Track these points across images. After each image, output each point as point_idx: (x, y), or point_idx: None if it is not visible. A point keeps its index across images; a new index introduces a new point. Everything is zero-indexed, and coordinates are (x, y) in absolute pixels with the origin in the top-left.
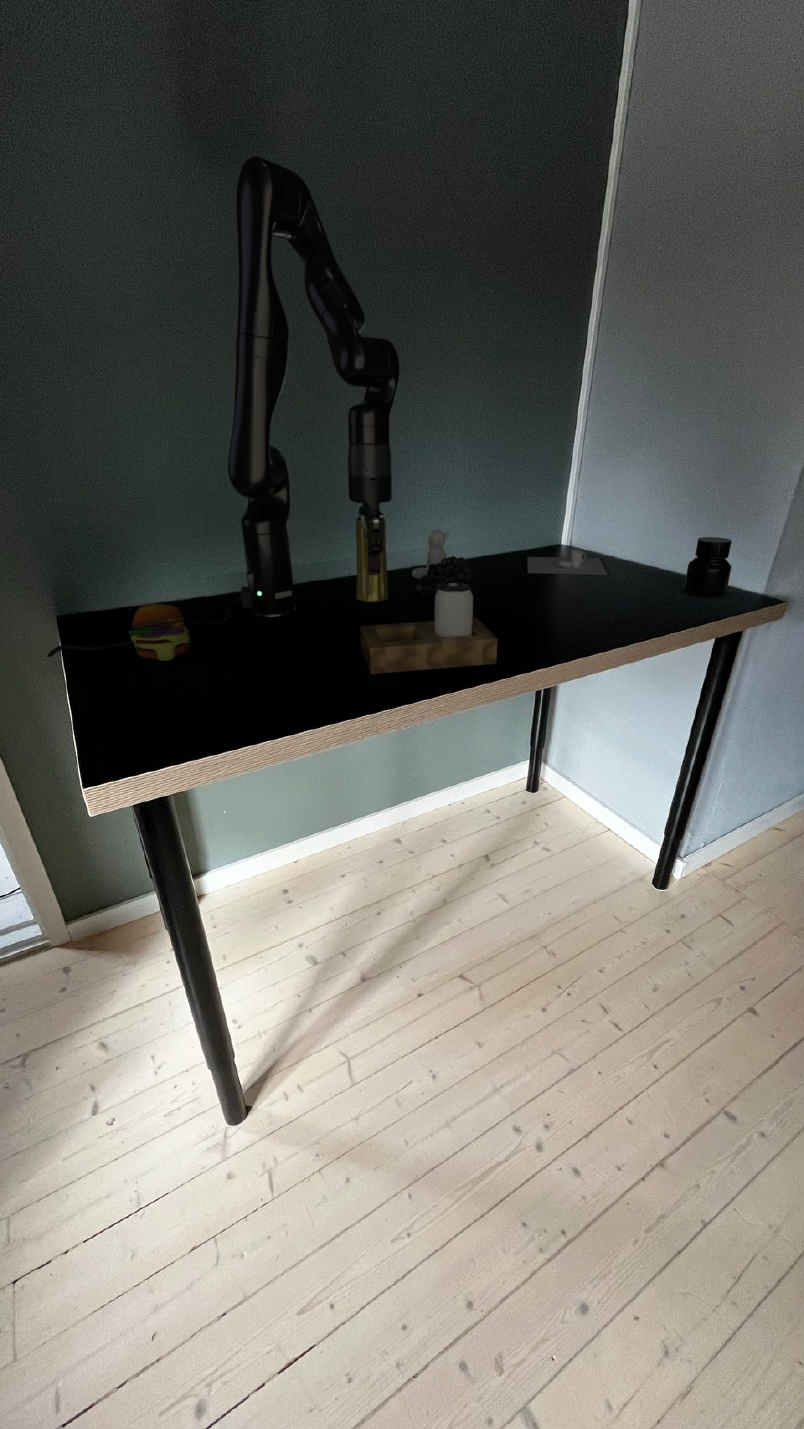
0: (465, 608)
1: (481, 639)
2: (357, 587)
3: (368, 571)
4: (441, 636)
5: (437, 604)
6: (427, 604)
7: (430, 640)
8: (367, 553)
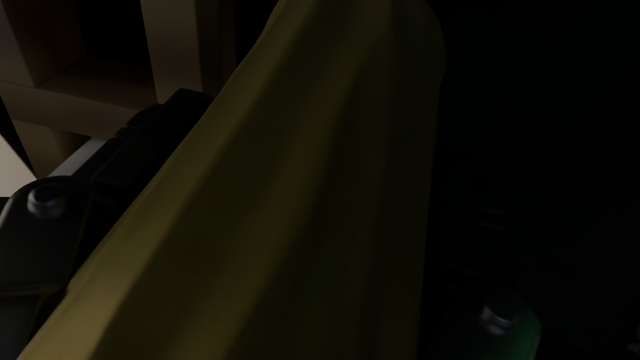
0: None
1: None
2: (368, 1)
3: (173, 96)
4: (86, 143)
5: None
6: (607, 275)
7: (25, 100)
8: (56, 177)
